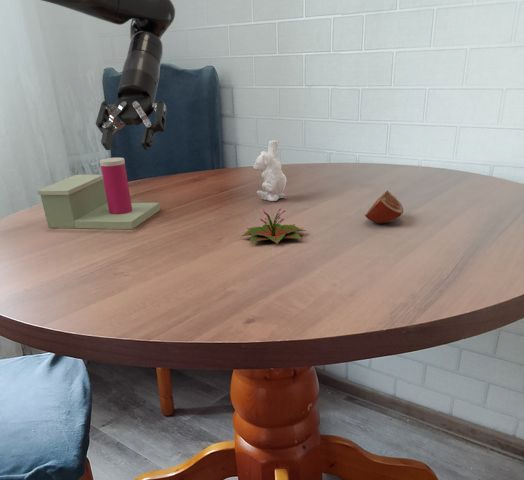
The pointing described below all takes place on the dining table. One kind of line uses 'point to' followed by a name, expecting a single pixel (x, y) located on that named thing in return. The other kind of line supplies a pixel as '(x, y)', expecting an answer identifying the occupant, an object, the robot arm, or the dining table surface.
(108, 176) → the lidded tumbler cup
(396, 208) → the fruit slice
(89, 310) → the dining table surface
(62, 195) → the step shelf
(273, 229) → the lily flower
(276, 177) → the white bunny figurine
